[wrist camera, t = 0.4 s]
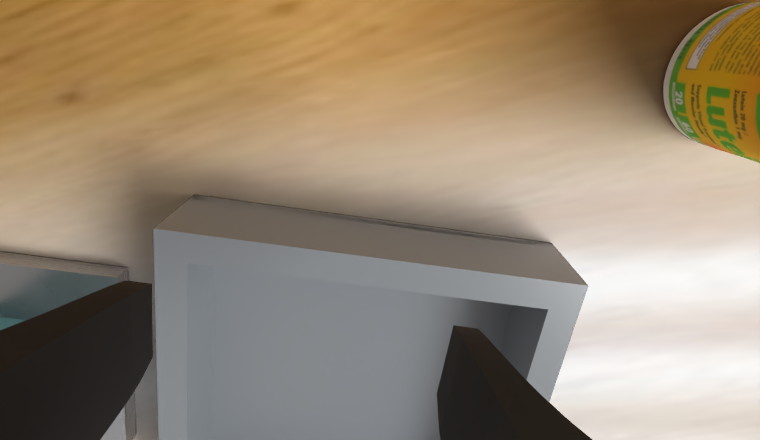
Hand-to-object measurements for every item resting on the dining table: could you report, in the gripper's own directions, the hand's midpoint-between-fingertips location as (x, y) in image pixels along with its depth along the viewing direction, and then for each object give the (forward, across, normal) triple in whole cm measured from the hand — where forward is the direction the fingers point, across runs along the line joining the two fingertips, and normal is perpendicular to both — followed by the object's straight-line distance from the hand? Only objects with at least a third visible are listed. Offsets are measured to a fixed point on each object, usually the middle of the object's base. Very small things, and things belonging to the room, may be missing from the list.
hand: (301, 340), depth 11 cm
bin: (+10, -2, +8) cm, 13 cm away
